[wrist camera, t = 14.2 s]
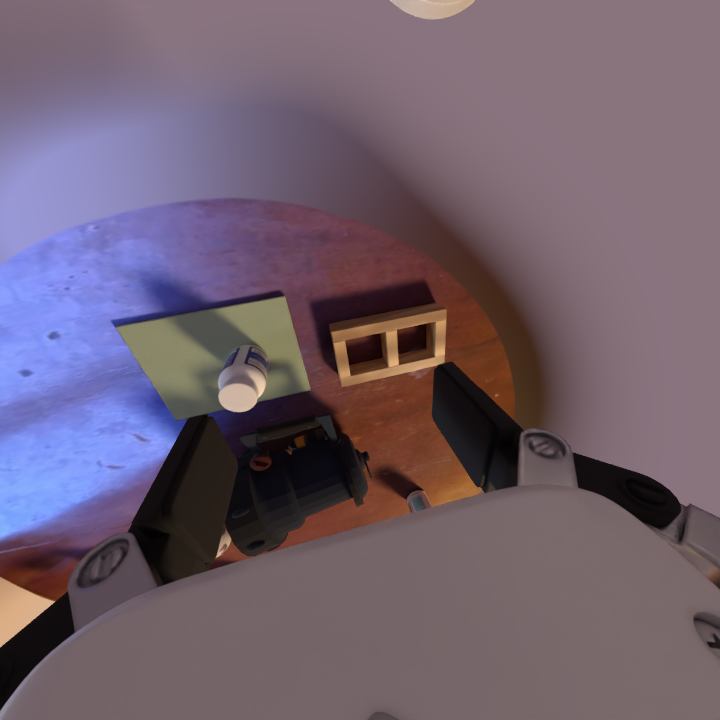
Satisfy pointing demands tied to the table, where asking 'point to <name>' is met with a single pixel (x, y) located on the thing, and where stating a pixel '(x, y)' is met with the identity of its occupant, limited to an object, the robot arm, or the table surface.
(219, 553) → the white rounded ceramic piece
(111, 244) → the table surface
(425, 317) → the rack
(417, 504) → the beer can
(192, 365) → the mat
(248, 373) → the pill bottle
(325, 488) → the flashlight
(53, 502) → the table surface
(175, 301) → the table surface
